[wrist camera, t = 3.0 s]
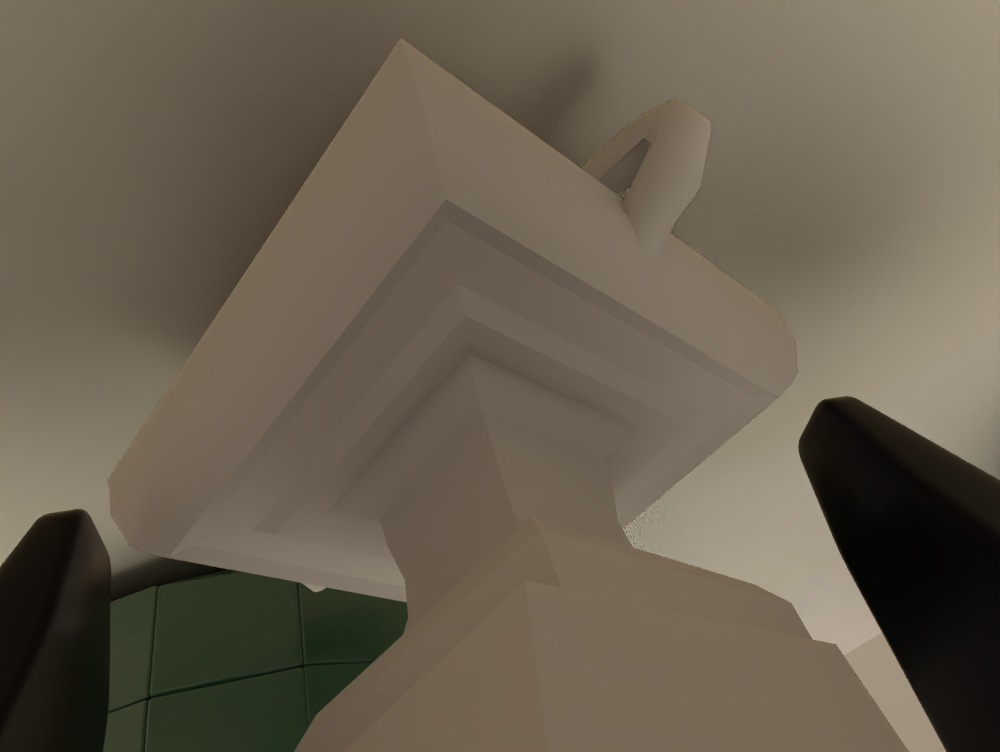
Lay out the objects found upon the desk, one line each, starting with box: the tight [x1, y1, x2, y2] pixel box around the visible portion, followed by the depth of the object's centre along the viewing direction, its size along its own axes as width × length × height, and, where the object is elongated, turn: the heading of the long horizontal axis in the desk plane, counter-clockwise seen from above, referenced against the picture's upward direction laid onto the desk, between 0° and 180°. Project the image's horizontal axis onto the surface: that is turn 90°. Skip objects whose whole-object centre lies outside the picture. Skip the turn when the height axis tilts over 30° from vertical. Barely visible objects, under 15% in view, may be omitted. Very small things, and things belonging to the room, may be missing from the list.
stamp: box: [108, 38, 909, 752], centre depth 9 cm, size 9×7×8 cm
